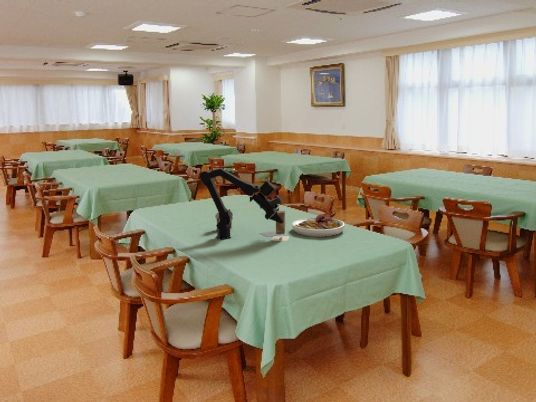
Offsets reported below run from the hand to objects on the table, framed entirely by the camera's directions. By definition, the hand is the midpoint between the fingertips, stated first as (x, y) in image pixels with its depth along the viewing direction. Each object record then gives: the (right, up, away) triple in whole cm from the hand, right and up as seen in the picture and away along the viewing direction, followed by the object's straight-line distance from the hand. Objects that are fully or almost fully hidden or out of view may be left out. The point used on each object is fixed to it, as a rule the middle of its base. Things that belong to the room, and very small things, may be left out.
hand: (283, 222), depth 267 cm
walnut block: (-1, -6, +1) cm, 6 cm away
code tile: (-1, -9, +2) cm, 10 cm away
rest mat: (-7, -8, +11) cm, 15 cm away
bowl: (+21, -7, +17) cm, 28 cm away
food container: (-35, -6, +26) cm, 44 cm away
